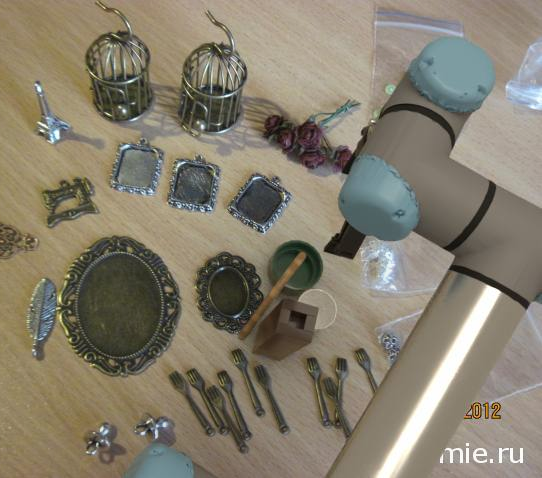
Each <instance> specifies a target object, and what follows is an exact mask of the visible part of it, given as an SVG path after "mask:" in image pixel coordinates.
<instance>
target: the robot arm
mask: <svg viewBox="0 0 542 478" xmlns="http://www.w3.org/2000/svg"><path fill="white" fill-rule="evenodd" d="M495 69H496V68H495V66H494V62H493V61H492V59H491V58H490V56H489V54H488V53H487V51H486V50H484V49H483V48H482V47H481V46H479V45H477V44H475V43H473V42H471V41H470V40H468V39H466V38H462V37H459V36H443V37H438V38H437V39H434V40H431V41H430V42H429V43H427V44H426V45H425V46H424V47H423V48H422V49H421V51H420V52H419V54H418V55H417V56H416V57H415V58H413V59H412V60H411V61H410V65H409V66H408V69H407V71H406V72H405V73H404V75H403V76H402V78H401V79H400V81H399V82H398V84H397V85H396V87H395V88H394V90H393V91H392V93H391V94H390V96H389V98H388V100H387V101H386V103H384V105H383V106H382V108H381V109H380V111H379V112H378V114H377V116H376V117H375V118H374V117H370V118H369V120H368V122H367V124H368V125H366V126H363V128H362V129H361V130H360V136H362V137H361V138H360V139H359V140H358V142H357V144H356V148H355V149H354V150H353V152H352V154H351V155H350V156H349V158H348V160H347V161H346V162H345V164H344V165H343V167H342V169H341V174H343V175H347V176H346V178H345V180H344V182H343V184H342V186H341V188H340V190H339V193H338V197H337V205H338V210H339V212H340V214H341V215H342V217H343V218H344V222H343V224H342V225H341V229H340V231H339V232H336V233H335V234H334V236H333V235H332V236H331V239H330V240H329V241H328V242H327V243H326V244H325V246H324V247H323V253H327V254H330V255H333V256H335V257H336V256H337V257H340V258H345V259H348V260H352V261H353V260H354V259H355V257H356V256H357V253H358V252H359V250H360V248H361V246H362V245H363V243H364V241H365V240H366V237H375V238H376V239H377V240H378V241H382V242H399V241H403V240H405V239H406V238H407V237H409V236H410V234H411V233H412V232H413V233H415V234H417V235H419V236H420V237H422V238H423V239H426V240H427V241H428V242H431V243H432V244H434V245H436V246H437V247H439V248H440V249H442V250H444V251H445V252H447V253H449V254H451V255H453V256H454V258H453V260H452V262H451V264H450V265H449V268H448V269H447V270H446V272H445V274H444V275H443V277H442V279H441V281H440V282H439V284H438V286H437V287H436V289H435V290H434V293H433V294H432V296H431V297H430V299H429V301H428V303H427V304H426V306H425V307H424V309H423V311H422V313H421V314H420V316H419V318H418V319H417V321H416V323H415V325H414V326H413V328H412V330H411V331H410V333H409V335H408V336H407V338H406V340H404V341H405V342H404V343H403V344H402V346H401V348H400V349H399V351H398V353H397V355H396V356H395V358H394V360H393V361H392V363H391V364H390V367H389V368H388V370H387V372H386V374H385V375H384V377H383V379H382V380H381V382H380V384H379V385H378V386H377V388H376V390H375V391H374V394H373V395H372V397H371V399H370V401H369V402H368V404H366V405H367V406H366V407H365V409H364V410H363V412H362V414H361V416H360V417H359V419H358V421H357V422H356V424H355V425H354V427H353V429H352V431H351V433H350V434H349V436H348V438H347V439H346V441H345V442H344V444H343V446H342V448H341V449H340V451H339V453H338V454H337V456H336V458H335V459H334V461H333V463H332V464H331V466H330V468H329V469H328V471H327V473H326V475H325V476H324V478H430V477H431V475H432V473H433V472H434V470H435V468H436V466H437V465H438V463H439V461H440V460H441V458H442V456H443V455H444V453H445V451H446V449H447V448H448V446H449V444H450V442H451V441H452V439H453V438H454V435H455V434H456V432H457V430H458V429H459V428H460V425H461V424H462V422H463V420H464V419H465V417H466V415H467V413H468V412H469V410H470V409H471V407H472V405H473V403H474V402H475V400H476V398H477V397H478V395H479V393H480V391H481V390H482V388H483V386H484V384H485V383H486V381H487V379H488V378H489V376H490V375H491V372H492V371H493V369H494V368H495V366H496V364H497V362H498V361H499V359H500V358H501V356H502V354H503V352H504V351H505V349H506V347H507V345H508V344H509V342H510V340H511V338H512V337H513V335H514V334H515V332H516V330H517V328H518V327H519V325H520V323H521V321H522V320H523V318H524V316H525V314H526V313H527V311H528V309H529V307H530V306H531V304H532V303H534V302H535V303H537V304H540V305H542V207H540V206H538V205H537V204H534V203H533V202H530V201H528V200H526V199H525V198H523V197H521V196H520V195H517V194H515V193H514V192H512V191H510V190H508V189H506V188H504V187H503V186H500V185H499V184H496V183H495V182H494V181H492V180H490V179H489V178H487V177H486V176H484V175H482V174H480V173H478V172H476V171H475V170H473V169H471V168H470V167H468V166H466V165H465V164H462V163H461V162H459V161H457V160H456V159H453V158H452V157H450V156H451V154H452V151H453V149H454V147H455V145H456V143H457V140H458V138H459V136H460V134H461V132H462V131H463V128H464V127H465V125H466V123H467V121H468V120H469V118H470V117H471V116H472V115H473V113H475V112H476V111H479V110H480V109H481V108H482V106H483V104H484V101H485V100H486V99H487V98H488V97H489V95H490V94H491V93H492V91H493V89H494V87H495V84H496V75H497V74H496V70H495ZM120 478H219V476H216V475H215V474H214V473H212V472H210V471H209V470H207V469H206V468H205V467H203V466H201V465H200V464H198V463H196V461H193V460H192V459H191V457H190V456H189V455H188V454H187V453H185V452H182V451H181V450H177V449H175V448H173V447H171V446H170V445H167V444H165V443H163V442H162V443H161V442H153V443H150V444H149V445H147V446H145V447H144V448H143V449H142V450H141V451H140V452H139V453H138V455H137V456H136V457H135V458H134V460H133V462H132V463H131V465H130V466H129V467H128V468H127V469H126V470H125V471H124V473H123V474H122V476H121V477H120Z"/></svg>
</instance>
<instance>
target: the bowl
mask: <svg viewBox="0 0 542 478" xmlns="http://www.w3.org/2000/svg"><path fill="white" fill-rule="evenodd" d="M300 252H304V253H306V258H305V259H304V261H303V262H302V263H301V265H300V266H299V267H298V269H297V270H296V271H295V273H294V274H293V275H292V277H291V278H290V279H289V281H288V282H287V283H286V285H285V286H284V287H283V289H282V290H281V291H280V293H281V294H283V295H286V296H291V297H300V296H301V295H302V294H303V293H304V292H306V291H308V290H311V289H313V288H314V286H316V285H317V284H318V282H319V281H320V280H321V278H322V276H323V272H324V261H323V258H322V255H321V254H320V252H319V251H318V250H317V248H316V247H315V246H313V245H312V244H310V243H309V242H307V241H304V240H300V239H291V240H288V241H285V242H283V243H282V244H281V245H279V246H278V247H277V248H276V250H275V252H273V255H272V256H271V258H270V259H269V261H268V265H267V277H268V279H269V282H270V284H271V285H272V286H273V287H274V286H275V285H276V283H277V282H278V281H279V279H280V278H281V277H282V275H283V274H284V273H285V271H286V270H287V269H288V267H289V266H290V265H291V263H292V262H293V261H294V259H295V258H296V257H297V255H298V254H299V253H300Z"/></svg>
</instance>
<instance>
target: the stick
mask: <svg viewBox="0 0 542 478" xmlns="http://www.w3.org/2000/svg"><path fill="white" fill-rule="evenodd" d="M305 258H306V253H304V252H300V253H299V254H298V255H297V257H296V258H295V259H294V261H293V262H292V263H291V265H290V266H289V267H288V269H287V270H286V271H285V273H284V274H283V275H282V277H281V278H280V279H279V281H278V282H277V283H276V285H275V286H273V287H272V288H271V290H270V291H269V292H268V294H267V295H266V296H265V298H264V299H263V300H262V302H261V303H260V304H259V306H258V307H257V308H256V310H255V311H254V313H253V314H252V315H251V316H250V317H249V319H248V321H246V323H245V324H244V325H243V327H242V328H241V330H240V331H239V332H238V333H237V334H238V335H237V336H238V339H240V340H245V339H246V338H247V336H249V334H250V332H251V331H252V330H253V328H254V327H255V326H256V324H257V323H258V322H259V321H260V319H261V317H263V316H264V314H265V312H266V311H267V310H268V308H269V307H270V306H271V305H272V303H273V302H274V301H275V300H276V298H277V297H278V295H279V294H280V293H281V292H280V291H281V290H282V289H283V287H284V286H285V285H286V283H287V282H288V281H289V279H290V278H291V277H292V275H293V274H294V273H295V271H296V270H297V269H298V267H299V266H300V265H301V263H302V262H303V261H304V259H305Z"/></svg>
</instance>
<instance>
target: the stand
mask: <svg viewBox="0 0 542 478" xmlns="http://www.w3.org/2000/svg"><path fill="white" fill-rule="evenodd" d="M318 311H319V308H318V307H315V306H312V305H308V304H305V303H302V302H298V301H297V300H295V299H292V298H289V297H286V296H285V297H283V298H282V299H281V300H280V301H279V302H278V303H277V305H276V306H275V307H274V308H273V309H272V310H271V311H270V312H269V313H268V314H267V315H266V317H264V319H263V320H262V321H261V322H260V323H259V324H258V327H257V331H256V335H255V339H254V342H253V347H252V350H251V353H252V354H254V355H258V356H262V357H264V358H268V359H271V360H274V361H278V362H281V361H282V360H284V359H286V358H287V357H290V356H291V355H293V354H295V353H297V352H298V351H300V350H301V349H303V348H306V347H308V346H309V345H310V344H312V341H313V338H314V333H315V332H314V329H315V324H316V320H317V315H318Z"/></svg>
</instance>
